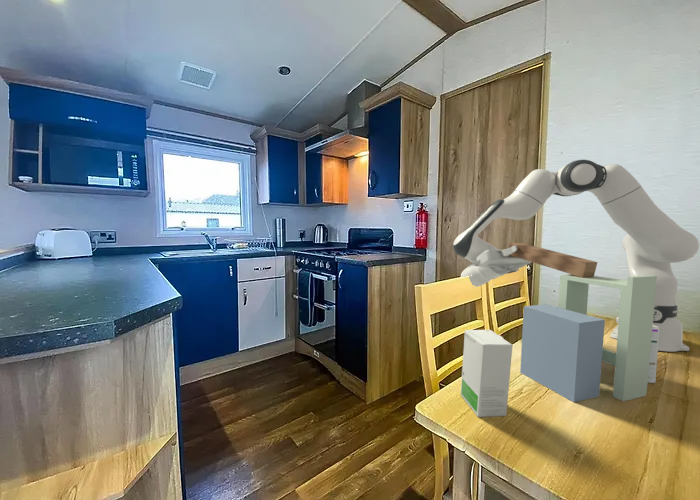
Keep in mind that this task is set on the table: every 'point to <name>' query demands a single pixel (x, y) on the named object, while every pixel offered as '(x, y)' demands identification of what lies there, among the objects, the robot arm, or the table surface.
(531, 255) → the walnut batten
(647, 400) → the table surface
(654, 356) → the syrup box
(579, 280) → the sage shelf
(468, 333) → the skincare box
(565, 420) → the table surface
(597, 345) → the slate-blue block
